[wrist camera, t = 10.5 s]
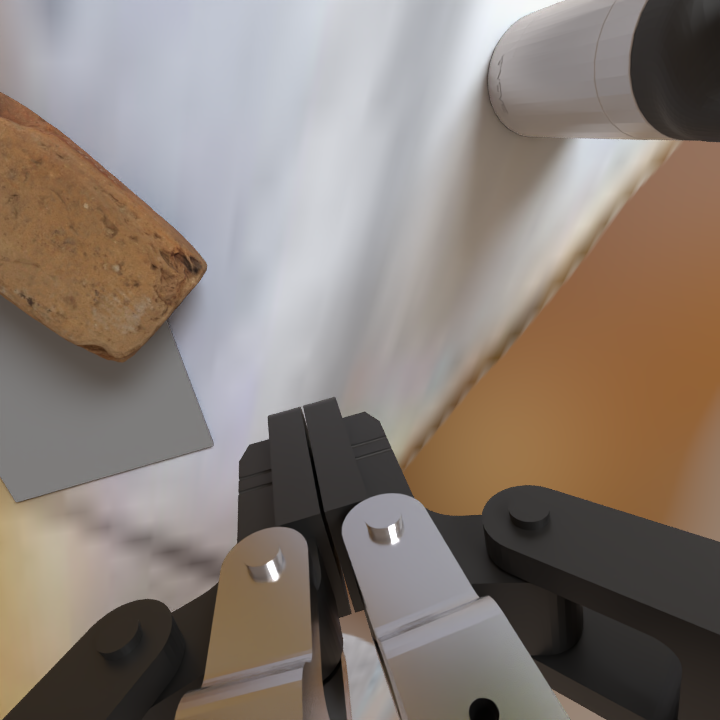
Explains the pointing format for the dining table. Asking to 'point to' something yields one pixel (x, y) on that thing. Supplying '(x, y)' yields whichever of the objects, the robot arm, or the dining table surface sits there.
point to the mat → (88, 408)
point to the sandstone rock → (83, 243)
